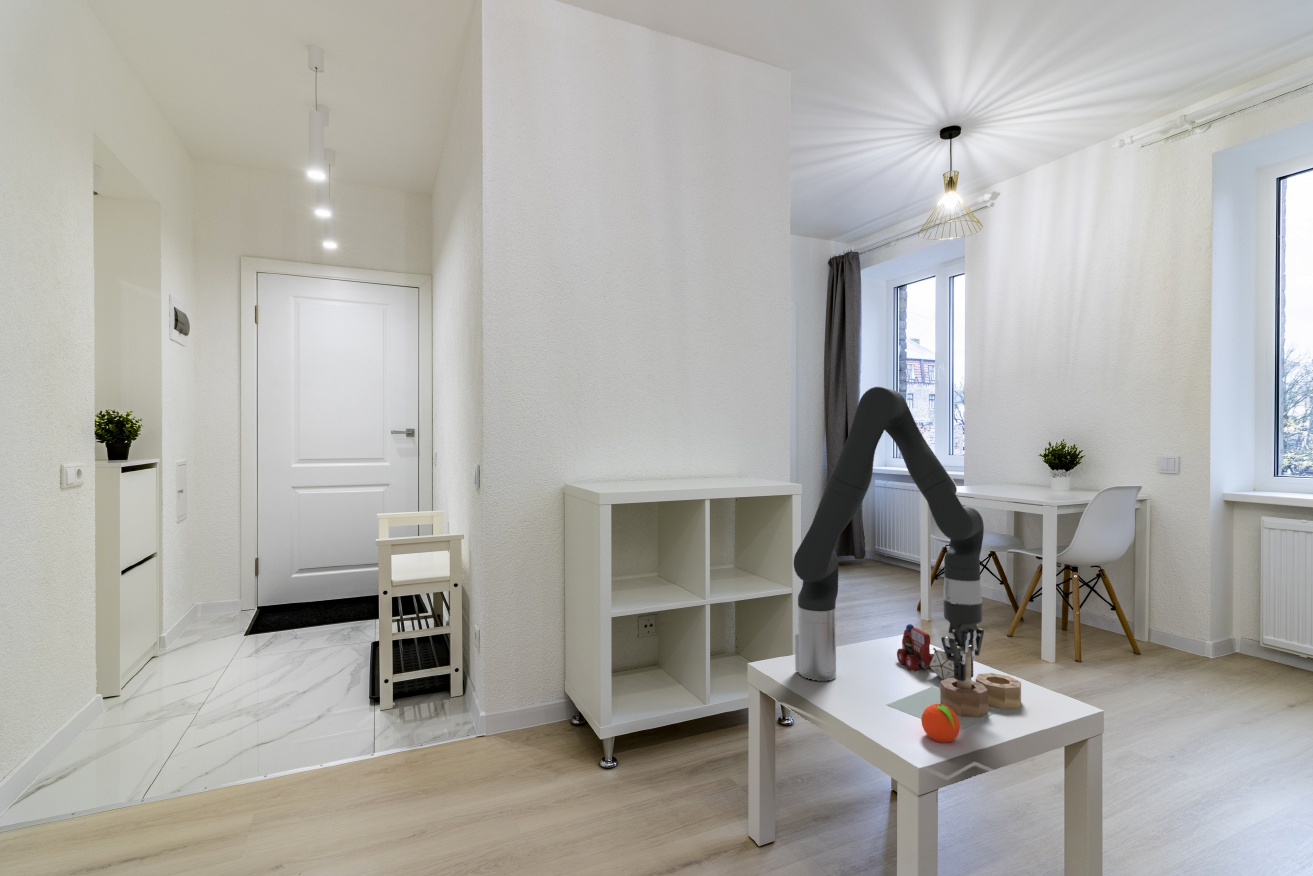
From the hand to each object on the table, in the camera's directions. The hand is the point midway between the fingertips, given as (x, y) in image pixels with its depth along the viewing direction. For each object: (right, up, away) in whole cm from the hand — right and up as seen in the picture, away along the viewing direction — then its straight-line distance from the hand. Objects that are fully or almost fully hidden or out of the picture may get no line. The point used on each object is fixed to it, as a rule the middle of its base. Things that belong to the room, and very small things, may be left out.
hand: (963, 678), depth 135 cm
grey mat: (-4, -7, +1) cm, 9 cm away
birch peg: (0, -5, 0) cm, 5 cm away
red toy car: (+1, -8, +28) cm, 29 cm away
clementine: (-11, -7, -14) cm, 19 cm away
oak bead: (+10, -7, +4) cm, 13 cm away
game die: (+5, -8, +18) cm, 20 cm away
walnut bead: (0, -7, 0) cm, 7 cm away
